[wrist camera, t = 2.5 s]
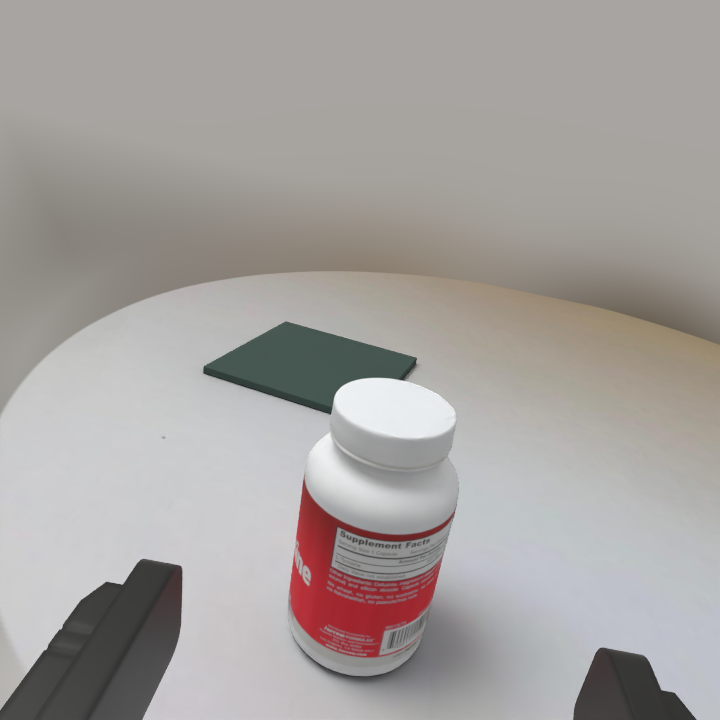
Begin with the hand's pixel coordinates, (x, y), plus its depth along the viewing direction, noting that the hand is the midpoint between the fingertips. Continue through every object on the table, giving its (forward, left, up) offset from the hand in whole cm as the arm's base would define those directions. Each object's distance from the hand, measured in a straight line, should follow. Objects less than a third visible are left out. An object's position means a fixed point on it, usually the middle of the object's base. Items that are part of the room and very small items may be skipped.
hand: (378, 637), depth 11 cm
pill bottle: (-3, +11, -12) cm, 16 cm away
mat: (-16, +35, -12) cm, 40 cm away
